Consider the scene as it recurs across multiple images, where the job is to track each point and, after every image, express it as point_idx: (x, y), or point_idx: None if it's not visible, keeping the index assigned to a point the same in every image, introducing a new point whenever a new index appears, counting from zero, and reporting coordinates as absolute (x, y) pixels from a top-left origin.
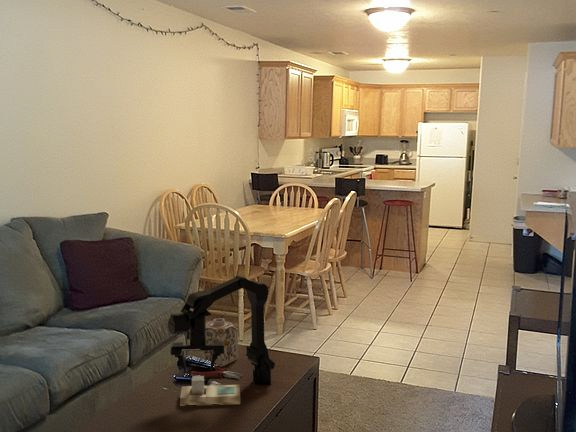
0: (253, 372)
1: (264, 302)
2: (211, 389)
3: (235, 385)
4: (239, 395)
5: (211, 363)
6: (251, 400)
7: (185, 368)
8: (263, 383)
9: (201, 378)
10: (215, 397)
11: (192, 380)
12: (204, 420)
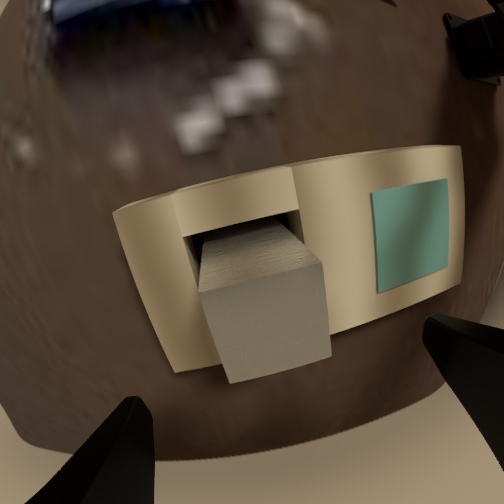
0: (492, 48)
1: None
2: (337, 229)
3: (447, 156)
4: (459, 278)
5: (477, 420)
6: (468, 226)
7: (152, 456)
8: (486, 77)
9: (307, 328)
10: (365, 319)
11: (234, 377)
12: (315, 414)
